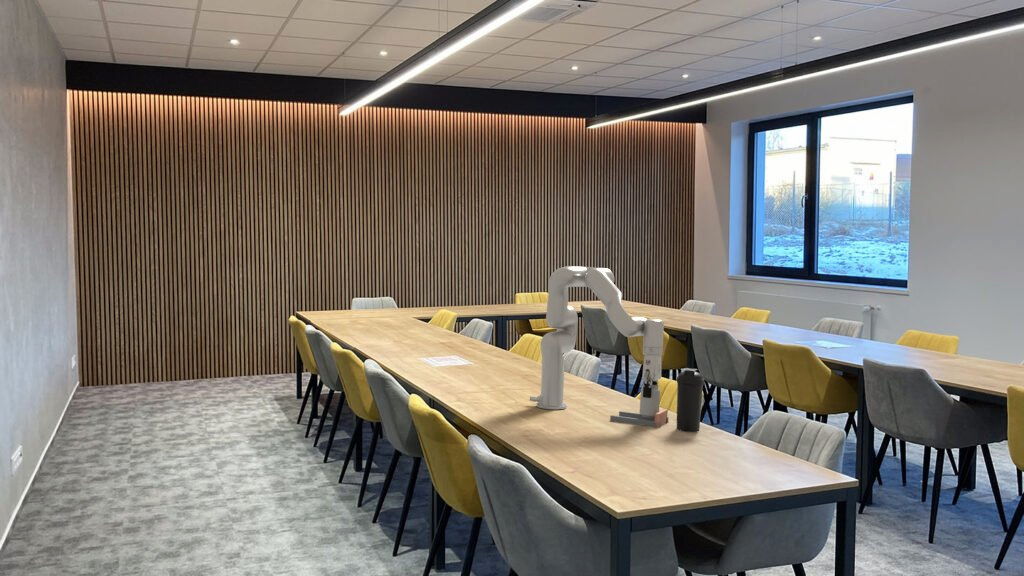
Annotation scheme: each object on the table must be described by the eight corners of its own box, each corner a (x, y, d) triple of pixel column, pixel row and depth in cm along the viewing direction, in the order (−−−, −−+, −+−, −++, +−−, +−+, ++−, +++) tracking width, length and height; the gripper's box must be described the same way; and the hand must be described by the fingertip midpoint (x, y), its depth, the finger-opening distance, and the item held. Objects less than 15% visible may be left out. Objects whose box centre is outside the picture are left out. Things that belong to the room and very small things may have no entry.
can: (658, 418, 329) (660, 387, 329) (638, 416, 331) (640, 386, 330) (659, 414, 337) (660, 384, 336) (639, 413, 338) (641, 383, 337)
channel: (610, 420, 335) (610, 408, 335) (619, 416, 345) (620, 403, 345) (659, 427, 326) (660, 414, 326) (668, 422, 336) (668, 409, 336)
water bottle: (703, 428, 327) (706, 368, 326) (699, 433, 318) (703, 372, 316) (676, 425, 331) (679, 366, 329) (672, 430, 321) (675, 369, 320)
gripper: (655, 354, 323) (652, 400, 324) (668, 349, 338) (665, 394, 339) (636, 352, 326) (633, 398, 327) (650, 348, 342) (647, 391, 343)
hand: (650, 395), depth 333 cm, fingers closed on can, 7 cm apart
